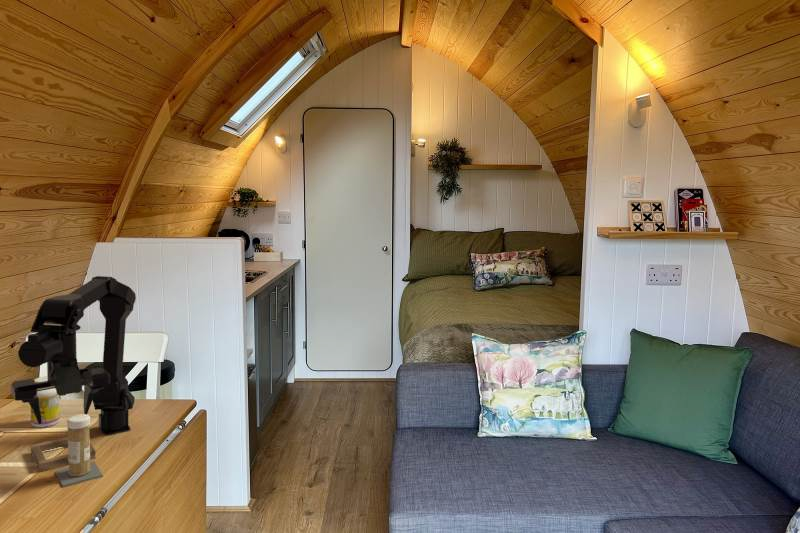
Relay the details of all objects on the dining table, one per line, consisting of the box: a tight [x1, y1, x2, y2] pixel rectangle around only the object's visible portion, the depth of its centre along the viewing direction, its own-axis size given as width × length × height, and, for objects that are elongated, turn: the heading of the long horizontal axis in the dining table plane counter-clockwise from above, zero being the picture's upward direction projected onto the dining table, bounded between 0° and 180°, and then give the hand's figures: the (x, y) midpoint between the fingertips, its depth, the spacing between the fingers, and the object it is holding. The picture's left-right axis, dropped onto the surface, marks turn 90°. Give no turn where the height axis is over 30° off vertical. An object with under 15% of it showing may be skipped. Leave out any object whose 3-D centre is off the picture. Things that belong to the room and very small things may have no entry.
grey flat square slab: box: [55, 460, 104, 488], centre depth 126 cm, size 8×8×1 cm
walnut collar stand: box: [30, 436, 96, 473], centre depth 134 cm, size 12×12×2 cm
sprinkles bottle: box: [66, 413, 91, 477], centre depth 125 cm, size 5×5×13 cm
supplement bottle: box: [30, 375, 60, 428], centre depth 150 cm, size 7×7×13 cm
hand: (63, 418), depth 125 cm, fingers open, 9 cm apart
